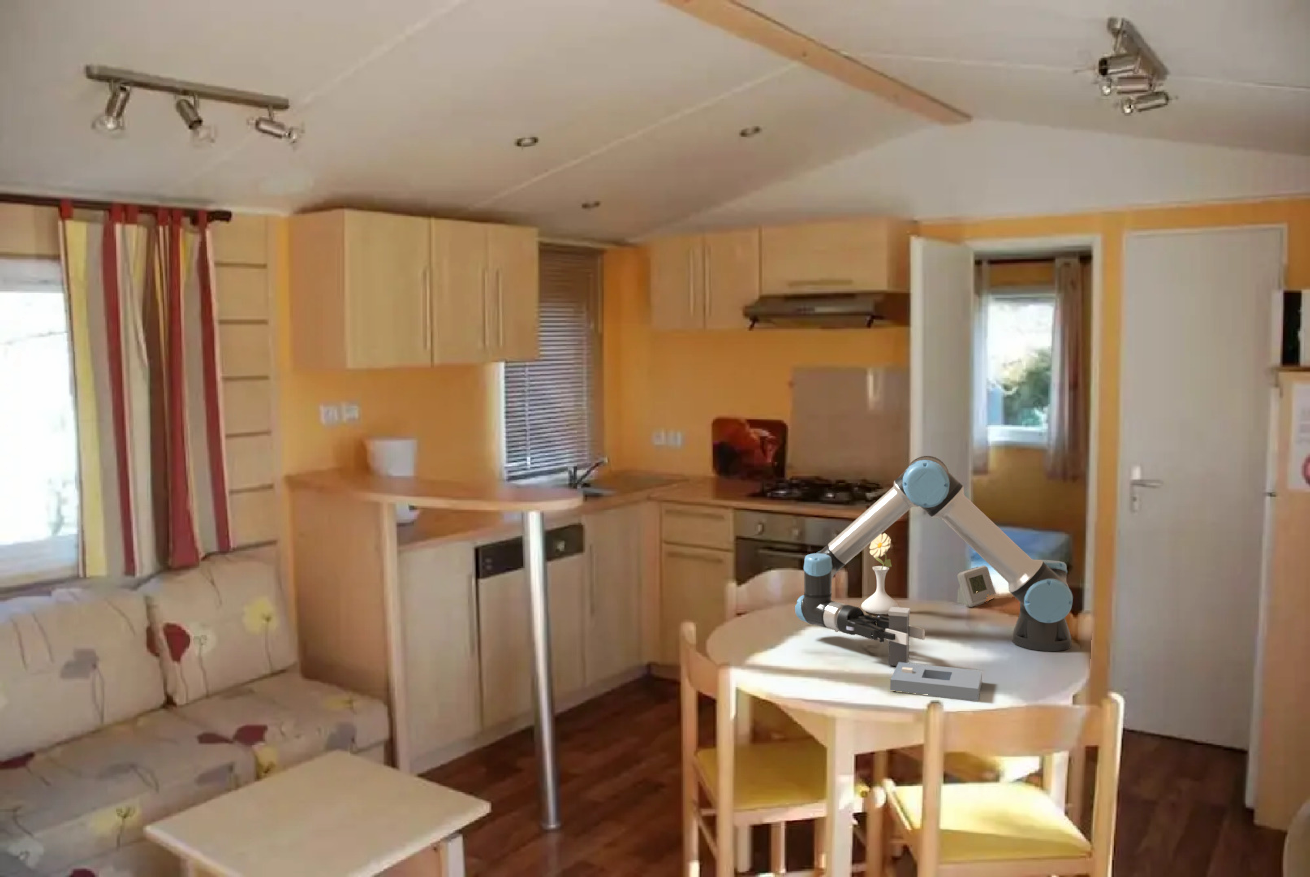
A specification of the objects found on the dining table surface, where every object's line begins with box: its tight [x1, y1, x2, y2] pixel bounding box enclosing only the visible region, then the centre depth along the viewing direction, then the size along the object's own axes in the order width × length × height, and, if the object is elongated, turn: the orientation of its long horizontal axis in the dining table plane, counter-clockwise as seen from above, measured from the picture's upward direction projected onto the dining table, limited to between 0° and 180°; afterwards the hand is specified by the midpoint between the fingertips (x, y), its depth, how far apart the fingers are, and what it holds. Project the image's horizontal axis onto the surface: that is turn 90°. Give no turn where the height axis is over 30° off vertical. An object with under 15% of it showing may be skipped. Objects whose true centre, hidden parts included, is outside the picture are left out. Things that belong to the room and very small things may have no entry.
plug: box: [887, 606, 911, 667], centre depth 273 cm, size 5×5×14 cm
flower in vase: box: [860, 532, 900, 615], centre depth 323 cm, size 13×11×25 cm
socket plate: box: [889, 662, 983, 702], centre depth 257 cm, size 20×14×4 cm
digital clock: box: [956, 565, 996, 608], centre depth 336 cm, size 16×9×11 cm, turn 122°
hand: (915, 636), depth 269 cm, fingers closed on plug, 6 cm apart
